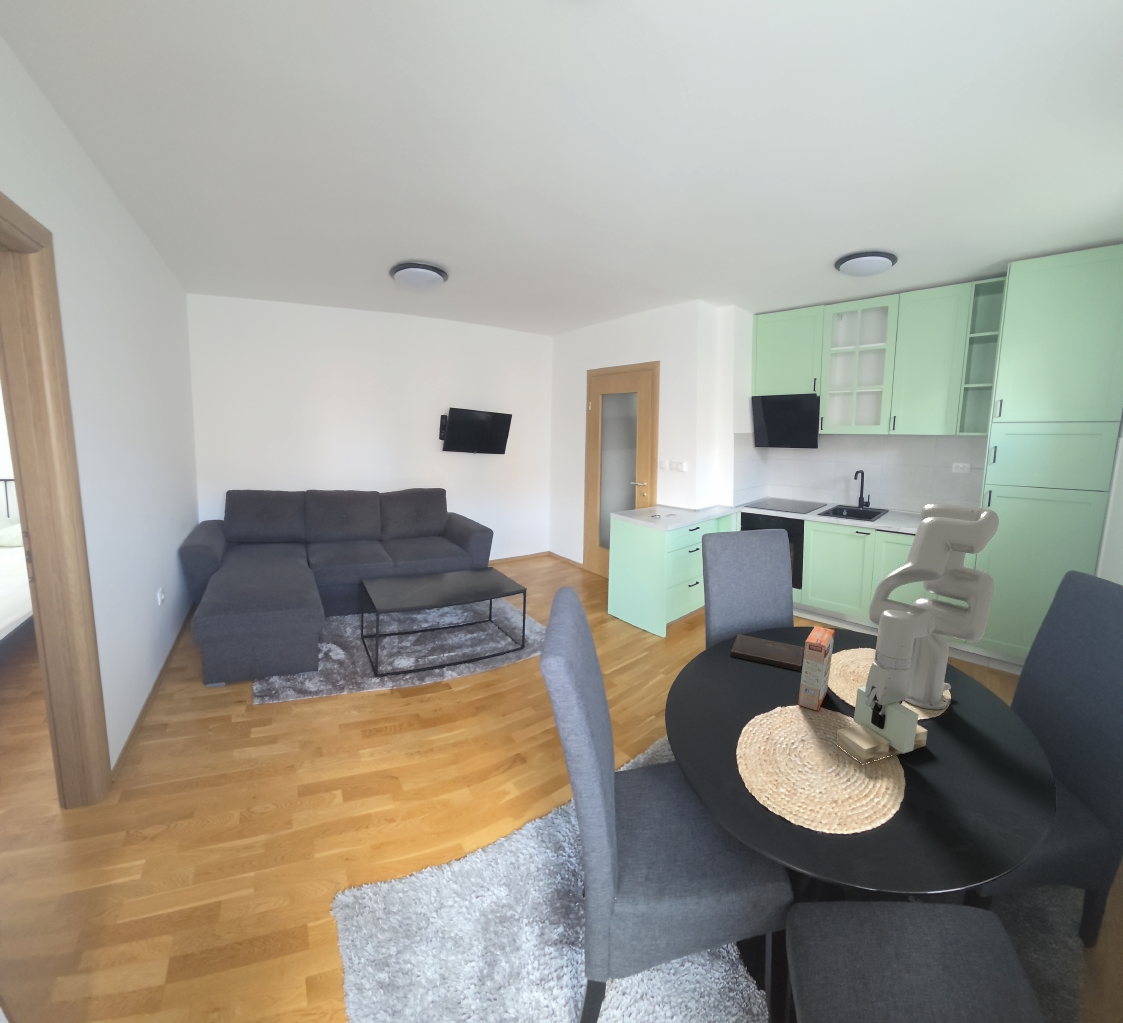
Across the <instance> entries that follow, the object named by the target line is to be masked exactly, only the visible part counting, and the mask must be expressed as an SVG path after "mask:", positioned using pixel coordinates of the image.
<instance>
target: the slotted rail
mask: <svg viewBox="0 0 1123 1023" xmlns="http://www.w3.org/2000/svg"><path fill="white" fill-rule="evenodd" d="M927 735H928V729H926V728H925V727H923V726H921V725H919V724H918V723H917V728H916V734H915V741H914V747H913V750H917V749H920V748H923V747H926V744H927V737H928V736H927ZM836 744H837V745H838V746H840V747H841V748H842V749H843V750H845V751H846V752H847V753H849V754H850V755H851V756H853V757H854V758H856V759H857V760H858V761H859V762H861V763H862V764H866V763H868V762H872V761H874V760H878V759H880V758H883V757H887V756H891V755H894V756H896V755H897V756H898V755H900V754H902V753H901V752H900V751H898V750H897V749H895V748H894V747H892V746H891V745H889V744H890V742H889V741H888V740H886V739H885V738H883V737H881V736H880V735H878V734H877V733H875V732H874V731H872V730H871V729H869V728H868V727H866V726H865V725H863V724H855V725H852V726H848V727H844V728H841V729H840V728H839V729H837V732H836V741H835V745H836ZM843 750H842V751H843ZM847 753H846V754H847ZM851 756H850V757H851ZM891 757H892V756H891ZM878 761H879V760H878ZM859 762H858V763H859ZM872 763H873V762H872ZM862 764H861V765H862ZM866 765H867V764H866Z"/></svg>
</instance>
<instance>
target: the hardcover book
mask: <svg viewBox="0 0 1123 1023" xmlns="http://www.w3.org/2000/svg"><path fill="white" fill-rule="evenodd" d="M804 650H805V646H800V645H794V644H790V643H786V642H779V641H775V640H768V639H763V638H759V637H756V636H755V637H754V636H748V635H743V634H738V633H737V636H736V637H735V640H734V642H733V645H732V648H731V650H730V654H729V655H730V657H733V658H738V659H739V658H740V659H743V660H747V661H753V662H756V663H762V664H765V665H771V666H776V667H780V668H785V669H788V670H789V669H790V670H794V671H799V672H802V666H803V658H804Z"/></svg>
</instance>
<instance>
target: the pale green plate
mask: <svg viewBox="0 0 1123 1023" xmlns="http://www.w3.org/2000/svg"><path fill="white" fill-rule="evenodd" d="M865 688H866V685H864V686H860V687H857V690H856V697H855V698H856V699H855V706H854V707H855V708H854V712H853V713H854V715H853V722H854V723H856V725H858V724H863V725H865V726H866V727H868V728H869V729H871V730H872V731H874V732H875V733H877V734H878V735H880V736H881V737H883V738H885V739H886V740H888V741H889V742H890V744H889V745H891V746H892V747H894V748H895V749H897V750H898V751H900V752H901V754H906V753H909V752H912V751H914V749H913V747H914V741H915V734H916V728H917V724H918V720H919V713H917V712H915V711H914V710H912V709H910V708H909V707H906V706H905V705H903V704H899V703H898V702H895V703H891V704H886V708H885V712H884V715H886V716H885V724H884V729H880V728H878V727H877V726H875V725H874V724H872V723H871V718H872V711H873V710H871V707H869V706H867V705H866V704H865V702H866V701H867V699H868V697H866V696H865ZM877 706H878V707H879V708H880V706H881V705H879V704H878V703H877Z"/></svg>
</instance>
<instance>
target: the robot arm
mask: <svg viewBox="0 0 1123 1023" xmlns="http://www.w3.org/2000/svg"><path fill="white" fill-rule="evenodd" d="M920 519H921V522H920V523H919V525H918V527H917V529H916V533H915V535H914V539H913V541H912V544H911V547H910V549H909V553H908V555H907V558H906V562H905V564H904V565H902V566H901V567H898V568H896V569H894V570H893V571H890V573H888V574H887V575H886V576H885V577H883V578H882V579H881V580H880V582H879V583H878V584H877V586H876V588H875V591H874V593H873V596H872V599H871V601H870V604H869V608H868V618H869V620H870V622H871V623H873V624H874V625H876V626H878V630H877V639H876V646H875V652H874V661H873V662H872V663H871V666H870V668H869V672H868V673H867V674H868V676H867V678H866V684H865V686H866V688H865V696H866V697H868V699H867V701H866V702H865V704H866V705H867V706H869V707H871V710H873V711H872V718H871V723H872V724H874V725H875V726H877V727H878V728H880V729H884V724H885V716H886V715H884V712H885V708H886V704H891V703H895V702H898V703H899V704H901V705H903V702H904V701H906V702H907V703H909V704H912V705H914V706H915V707H919V708H923V709H928V710H943V709H945V708H946V707H947V706H948V700H947V698H946V696H945V695H944V692H945V691H947V690H951V688H952V685H951V684H950V683H948V682H945V679H946V671H947V665H948V658H949V654H950V647H949V644H948V642H947V640H946V638H945V636H946V637H950V638H953V639H958V640H961V641H964V642H969V643H977V642H981V640H982V639H983V637H984V636H985V633H986V629H987V625H988V620H989V616H990V610H991V605H992V599H993V595H994V579H993V576H991V574H989V572H986V571H984V570H979V569H976V568H975V569H974V568H969V567H965V566H964V563H965V558H966V555H967V554H969V555H971V554H972V555H975V554H976V555H977V554H979V553H981V552H982V551H983V550H984V549H985V548H986V546H987V545H988V544H989V542H990V541H991V540H992V539H993V538H994V536H995V534H996V533H997V531H998V529H999V524H1000V520H999V519H1000V518H999V516H998V513H996V512H995V511H994V510H992V509H989V508H982V507H973V506H966V505H965V506H963V505H958V504H949V503H928V504H926V505H924V506H923V507H922V509H921V511H920ZM920 582H922V585H923V589H924V590H925V591H926V592H928V593H930V594H932V595H936V596H939V597H945V598H949V599H953V600H957V601H961V602H965V603H966V604H967V606H965V605H962V604H961V605H960V604H956V603H952V602H949V601H944V600H940V599H935V598H932V597H931V598H930V597H929V598H928V597H921V598H918V599H916V600H914V601H913V602H912V604H909V603H905V602H901V601H897V600H893V599H890V598H889V597H890V595H891V594H892V592H893V591H894V590H896V589H897V588H900V587H902V586H903V585H908V584H914V583H920ZM877 703H878V704H879V705H881V706H880V708H879V707H878V706H877Z"/></svg>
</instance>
